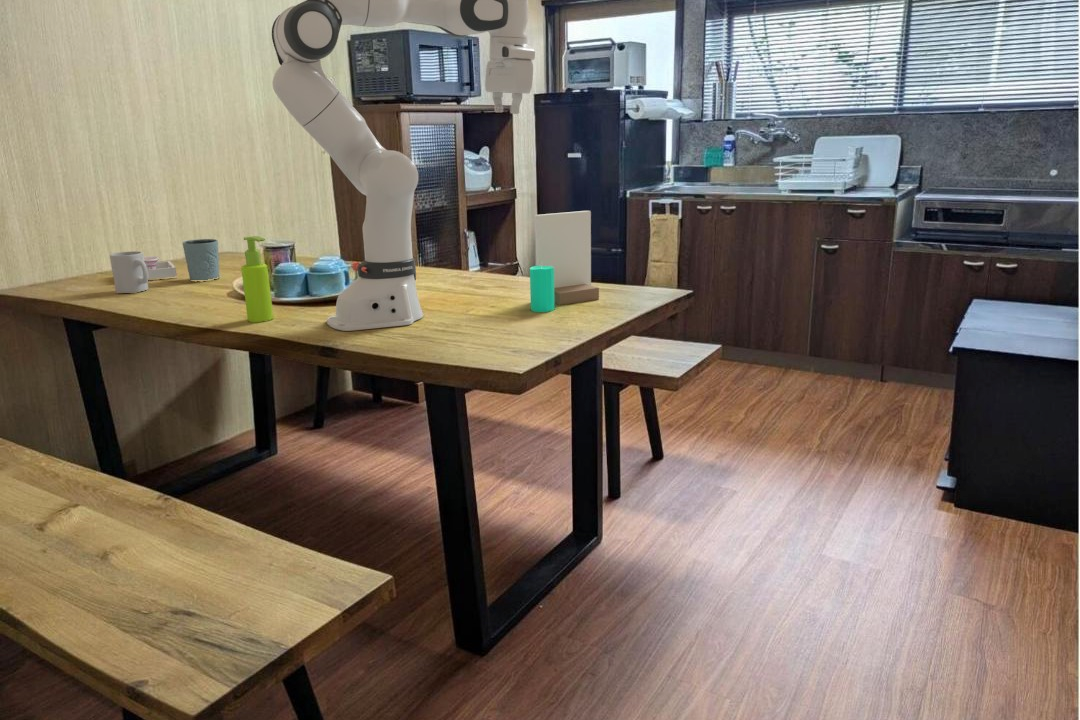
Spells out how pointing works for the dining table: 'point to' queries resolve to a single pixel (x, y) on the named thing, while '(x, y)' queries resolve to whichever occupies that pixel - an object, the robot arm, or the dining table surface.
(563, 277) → the tabletop board
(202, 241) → the blue embossed cup
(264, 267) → the soap dispenser
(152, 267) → the teacup
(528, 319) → the dining table surface
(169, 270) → the tray
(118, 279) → the mug
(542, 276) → the candle
